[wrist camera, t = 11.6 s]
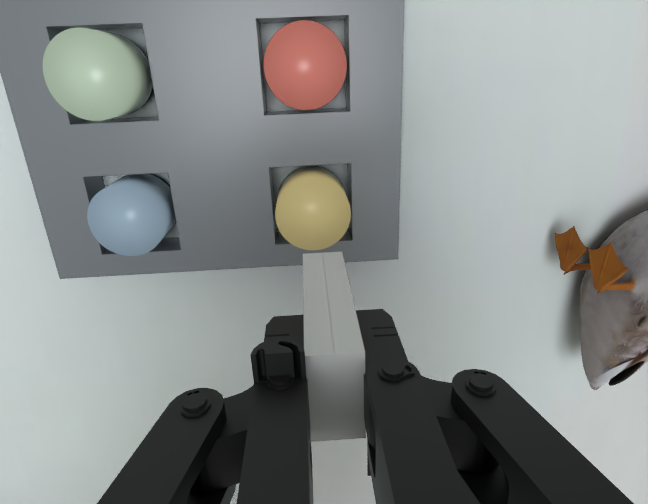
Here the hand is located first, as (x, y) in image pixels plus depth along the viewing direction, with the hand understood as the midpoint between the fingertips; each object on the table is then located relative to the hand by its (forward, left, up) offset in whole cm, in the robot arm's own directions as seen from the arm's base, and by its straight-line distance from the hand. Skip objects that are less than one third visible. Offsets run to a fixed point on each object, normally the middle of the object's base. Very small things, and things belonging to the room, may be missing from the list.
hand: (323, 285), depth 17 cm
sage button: (-11, +8, -13) cm, 19 cm away
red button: (0, +8, -14) cm, 16 cm away
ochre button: (0, 0, -13) cm, 13 cm away
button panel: (-6, +4, -14) cm, 16 cm away
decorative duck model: (+24, -8, -14) cm, 29 cm away
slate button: (-11, 0, -14) cm, 17 cm away
